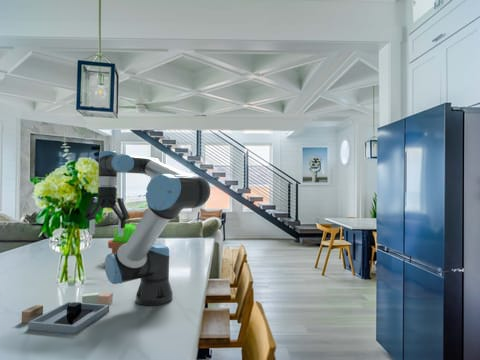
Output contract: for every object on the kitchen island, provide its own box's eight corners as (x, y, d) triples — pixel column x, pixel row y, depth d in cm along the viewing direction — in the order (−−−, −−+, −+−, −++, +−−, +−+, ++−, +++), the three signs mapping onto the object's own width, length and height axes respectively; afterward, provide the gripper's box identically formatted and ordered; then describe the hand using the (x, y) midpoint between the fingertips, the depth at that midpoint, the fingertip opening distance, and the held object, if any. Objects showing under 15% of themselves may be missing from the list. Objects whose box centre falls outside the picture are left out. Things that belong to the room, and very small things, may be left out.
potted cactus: (149, 258, 206) (150, 221, 207) (135, 266, 184) (136, 224, 185) (118, 257, 208) (119, 220, 209) (101, 265, 186) (102, 224, 187)
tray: (109, 311, 117) (109, 305, 117) (75, 334, 99) (76, 326, 99) (67, 308, 120) (68, 301, 120) (28, 329, 101) (28, 322, 102)
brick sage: (99, 302, 127) (99, 292, 127) (98, 304, 124) (98, 294, 124) (82, 303, 125) (83, 294, 125) (82, 306, 122) (82, 296, 122)
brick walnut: (35, 315, 113) (36, 304, 113) (42, 316, 112) (43, 305, 112) (21, 322, 107) (21, 311, 107) (29, 323, 106) (29, 312, 106)
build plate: (75, 309, 117) (76, 297, 117) (93, 310, 116) (94, 298, 117) (52, 323, 105) (53, 310, 105) (72, 325, 104) (73, 311, 104)
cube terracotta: (112, 302, 127) (112, 292, 127) (108, 306, 123) (108, 296, 123) (102, 302, 127) (103, 292, 127) (98, 306, 123) (98, 296, 123)
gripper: (138, 186, 135) (137, 235, 135) (87, 186, 139) (85, 232, 139) (129, 186, 128) (128, 237, 127) (75, 186, 132) (74, 235, 131)
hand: (106, 235), depth 133 cm, fingers open, 13 cm apart
